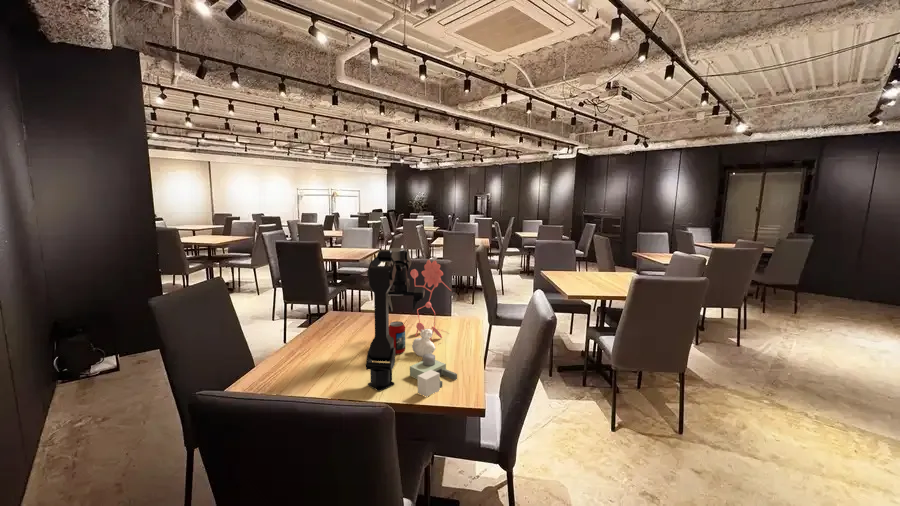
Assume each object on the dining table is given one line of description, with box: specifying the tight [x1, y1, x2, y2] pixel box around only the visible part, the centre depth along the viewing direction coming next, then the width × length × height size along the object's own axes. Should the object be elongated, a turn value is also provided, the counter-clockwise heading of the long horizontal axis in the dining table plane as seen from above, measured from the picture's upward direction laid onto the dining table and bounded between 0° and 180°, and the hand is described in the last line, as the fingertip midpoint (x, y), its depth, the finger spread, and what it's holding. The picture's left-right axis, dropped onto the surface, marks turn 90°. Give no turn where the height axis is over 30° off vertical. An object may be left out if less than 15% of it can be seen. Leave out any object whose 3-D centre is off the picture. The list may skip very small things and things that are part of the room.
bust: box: [411, 328, 436, 358], centre depth 151 cm, size 12×8×11 cm
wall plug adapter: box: [409, 353, 458, 389], centre depth 131 cm, size 10×14×6 cm
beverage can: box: [389, 320, 406, 355], centre depth 153 cm, size 7×7×12 cm
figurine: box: [410, 259, 452, 345], centre depth 171 cm, size 15×26×35 cm, turn 48°
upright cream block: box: [417, 370, 441, 398], centre depth 121 cm, size 4×6×6 cm, turn 138°
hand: (402, 311), depth 157 cm, fingers open, 9 cm apart
